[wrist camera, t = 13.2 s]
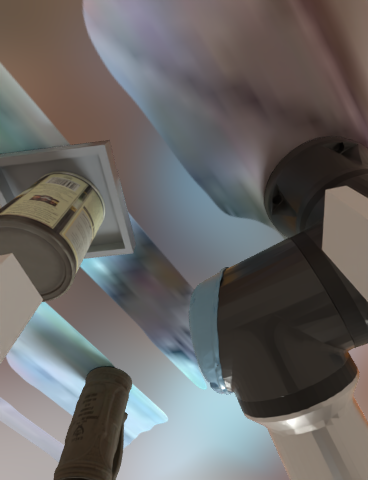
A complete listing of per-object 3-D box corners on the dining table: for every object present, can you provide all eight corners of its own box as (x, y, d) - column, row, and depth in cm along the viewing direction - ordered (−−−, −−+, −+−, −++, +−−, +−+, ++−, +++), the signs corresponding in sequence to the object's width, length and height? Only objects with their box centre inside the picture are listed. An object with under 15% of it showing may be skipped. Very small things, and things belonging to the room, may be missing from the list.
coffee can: (50, 240, 40) (-4, 308, 28) (19, 176, 35) (-63, 226, 23) (114, 232, 40) (88, 297, 28) (93, 165, 34) (49, 211, 22)
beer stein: (74, 374, 61) (35, 489, 44) (109, 358, 58) (81, 474, 41) (118, 402, 68) (98, 510, 51) (151, 389, 65) (142, 499, 48)
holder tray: (109, 140, 34) (104, 144, 31) (135, 243, 42) (133, 253, 40) (-10, 155, 34) (-24, 160, 32) (39, 253, 43) (31, 264, 40)
